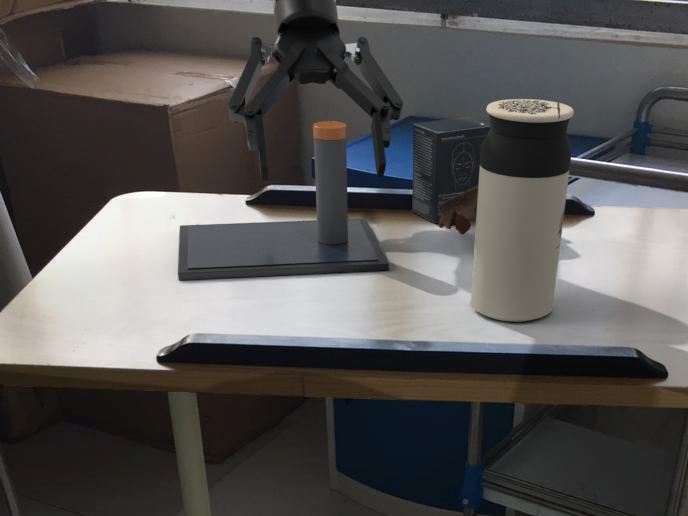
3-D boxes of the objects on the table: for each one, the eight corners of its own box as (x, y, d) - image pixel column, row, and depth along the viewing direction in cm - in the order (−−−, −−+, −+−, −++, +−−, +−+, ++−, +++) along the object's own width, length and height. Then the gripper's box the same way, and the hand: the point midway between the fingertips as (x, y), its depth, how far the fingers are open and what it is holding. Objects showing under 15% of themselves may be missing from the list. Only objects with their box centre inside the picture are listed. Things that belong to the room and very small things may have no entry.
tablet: (178, 280, 91) (177, 272, 90) (180, 232, 104) (179, 224, 103) (389, 270, 95) (389, 262, 94) (366, 224, 107) (366, 217, 107)
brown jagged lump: (481, 271, 96) (451, 197, 94) (445, 282, 105) (416, 215, 103) (567, 226, 100) (540, 154, 97) (525, 241, 108) (499, 175, 106)
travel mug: (462, 318, 84) (475, 112, 74) (479, 289, 91) (493, 95, 80) (545, 328, 83) (571, 119, 72) (557, 298, 89) (581, 101, 78)
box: (462, 204, 115) (467, 115, 109) (487, 216, 111) (493, 124, 105) (410, 212, 112) (412, 121, 105) (433, 224, 108) (437, 131, 102)
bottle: (319, 245, 98) (314, 128, 91) (315, 235, 101) (311, 121, 94) (350, 244, 99) (348, 127, 91) (346, 234, 101) (344, 120, 94)
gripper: (403, 29, 111) (423, 186, 108) (200, 30, 107) (216, 193, 104) (412, -17, 104) (434, 151, 101) (195, -18, 100) (211, 156, 97)
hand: (323, 172), depth 102 cm, fingers open, 13 cm apart
